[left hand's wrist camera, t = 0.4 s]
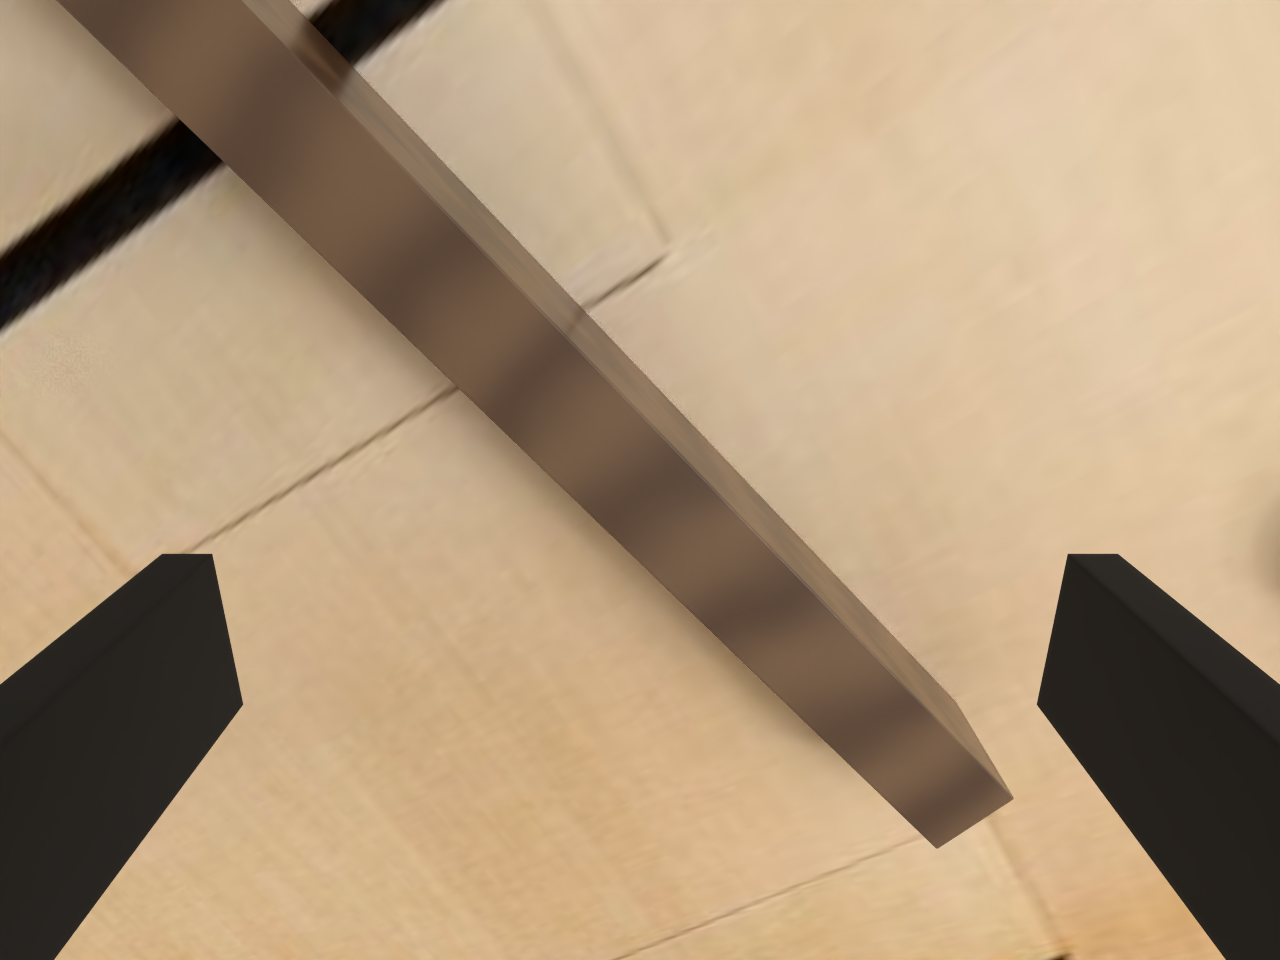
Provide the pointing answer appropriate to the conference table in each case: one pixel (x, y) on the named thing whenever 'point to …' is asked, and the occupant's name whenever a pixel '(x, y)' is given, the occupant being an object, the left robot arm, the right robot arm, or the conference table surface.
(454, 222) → the beam
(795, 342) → the conference table surface
